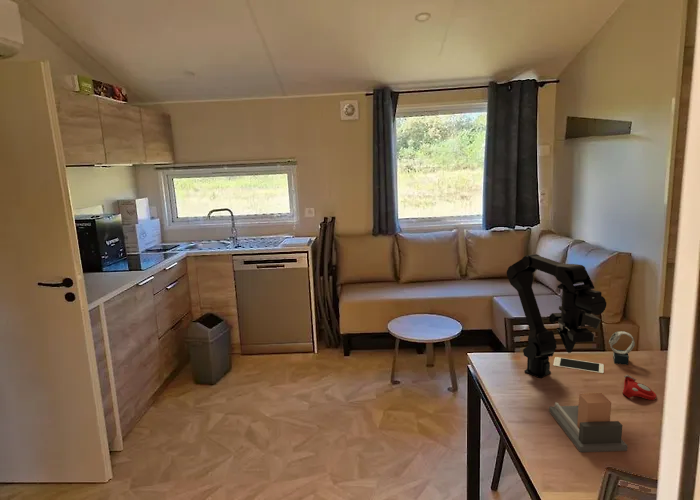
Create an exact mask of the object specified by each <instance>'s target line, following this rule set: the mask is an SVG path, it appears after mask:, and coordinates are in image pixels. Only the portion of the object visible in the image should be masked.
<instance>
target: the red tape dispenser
mask: <svg viewBox="0 0 700 500" xmlns="http://www.w3.org/2000/svg"><path fill="white" fill-rule="evenodd" d="M623 385H624V386H623V389H622V395H624V396H625V397H627V398H628V399H630V398H632V397H639V398H642V399H645V400H649V401H655V400H656V399H657V394H656V393H655V392H654V391H653V390H652V389H651V388H650V387H648V386H647V385H645V384H644V383H640V382H637V379H636V378H635V377H633V376H631V375H628V374H626V375H624V383H623ZM655 398H656V399H655ZM654 399H655V400H654Z"/></svg>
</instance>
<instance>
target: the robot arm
mask: <svg viewBox="0 0 700 500" xmlns="http://www.w3.org/2000/svg"><path fill="white" fill-rule="evenodd" d="M537 270H538V271H540V272H543V273H546V274H548V275H550V276H553V277H555V279H556V281H557V282H559V283H560V284H558V285H557V286H556V287H557V289H558V290H559V289H560V290H562V291H561V293H562V294H561V305H560V306H558V310H560V312H552V313H550V315H549V320H548V322H549V323H551V324H552V325H554V324H555V323H556V322H558V323H557V324H558V327H556V331H557V333H558V334H559V337H560V339H561V341H562V343H563V346H564V348H565V351H566V352H567V353H569V354H571V353H572V352H573V350H574V347H575V345H576V343H584V342H585V343H586V342H587V343H588V342H590V343H591V342H592V343H593V342H594V341H595V334H594V333H593V332H592V331H590V330H589V329H588V328H586V326H588V327H591V328H593V329H595V330H597V329H598V328H599V325H600V323H601V321H602V319H601V318H600V317H598V316H599V315H602V314H603V313H604V311H606V308H607V300H606V299H605V297H604V296H602V291H599V290H595V285H594V284H593V281H592V279H591V278H590V275H589V273H588V271H587V269H586V267H585V265H583V264H577V263H562V262H559V261H556V260H552V259H549V258H547V257H544V256H540V255H539V254H537V253H534V254H527V255H524V256H523V257H522V258H521V259H519V260H517V261H516V262H515V263H513V264H512V265H510V266H509V267H508V268H507V270H506V276H507V279H508V281H509V284H510V285H511V286H512V287H513V288H514V289H515V290H516V291H517V294H518V297H519V300H520V303H521V307H522V309H523V312H524V318H525V319H526V322H527V325H528V328H529V333H528V337H527V341H528V345H527V346H525V347H524V348H523V349H522V352H523V356H524V357H526V358H527V361H526V366H527V367H526V369H524V373H526V374H529V375H532V376H534V377H536V378H539V379H542V378H544V377H546V376H547V375H549V374H551V373H552V370H550V369H551V368H550V365H551V363H550V357H553V356H554V353H555V351H556V350H557V343H558V342H557V340H556V338H555V334H554V332H553V330H550V331H549V329H547V328H546V327H545V325H544V321H543V318H542V314H541V312H540V309H539V308H540V307H539V305H538V303H537V302H538V301H537V299H536V296H535V293H534V289H533V283H534V274H535V273H536V272H537Z"/></svg>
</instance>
